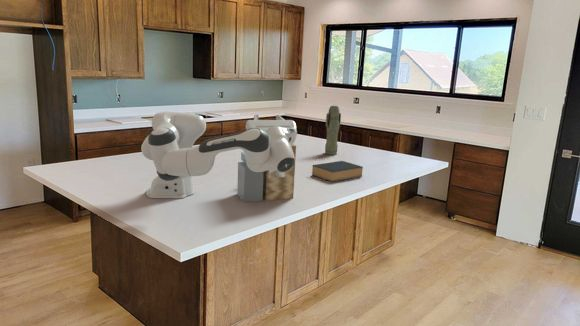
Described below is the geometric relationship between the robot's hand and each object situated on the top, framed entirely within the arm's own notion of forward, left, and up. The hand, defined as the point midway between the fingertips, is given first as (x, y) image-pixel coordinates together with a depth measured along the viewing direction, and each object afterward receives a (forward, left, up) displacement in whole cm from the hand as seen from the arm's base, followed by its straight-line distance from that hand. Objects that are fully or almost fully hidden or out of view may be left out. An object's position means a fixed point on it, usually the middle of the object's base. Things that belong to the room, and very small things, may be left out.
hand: (266, 116), depth 179 cm
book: (+62, +52, -43) cm, 91 cm away
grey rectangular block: (0, +23, -42) cm, 48 cm away
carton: (+14, +23, -42) cm, 50 cm away
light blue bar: (0, +21, -26) cm, 34 cm away
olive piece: (+86, +111, -43) cm, 147 cm away
